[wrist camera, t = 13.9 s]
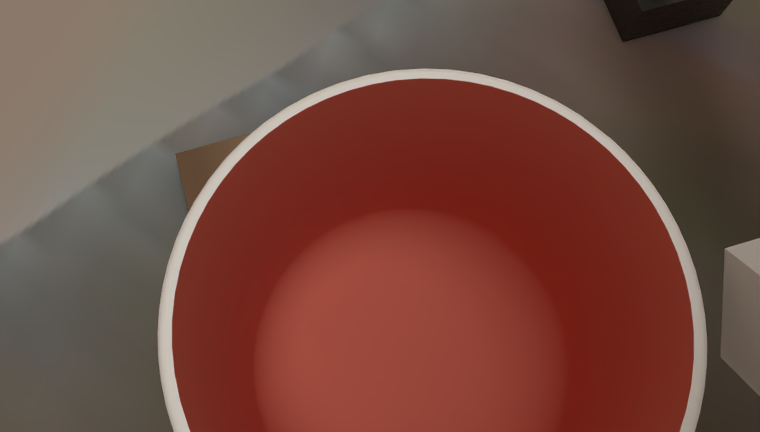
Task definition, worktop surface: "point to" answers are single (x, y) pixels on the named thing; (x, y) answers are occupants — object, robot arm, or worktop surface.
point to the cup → (430, 273)
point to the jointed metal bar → (660, 14)
